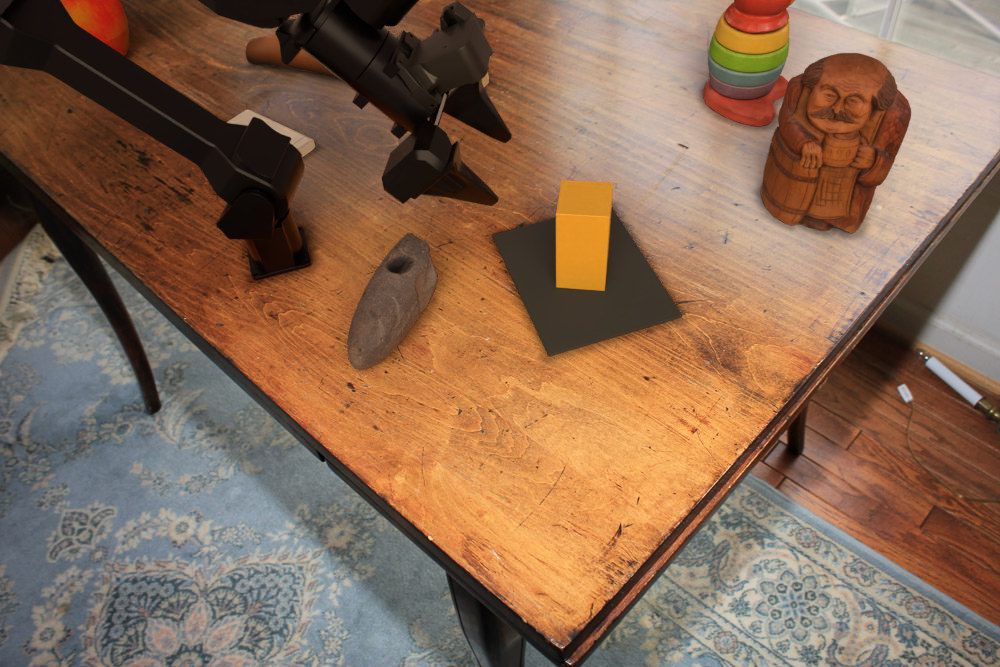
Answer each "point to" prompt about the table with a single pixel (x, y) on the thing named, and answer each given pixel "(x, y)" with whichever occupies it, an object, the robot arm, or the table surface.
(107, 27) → the red orange mango
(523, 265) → the slate mat
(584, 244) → the mustard block
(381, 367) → the table surface
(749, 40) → the stacking bear
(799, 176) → the wooden figurine
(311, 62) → the sunglasses case
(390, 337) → the perforated stone tool
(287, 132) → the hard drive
